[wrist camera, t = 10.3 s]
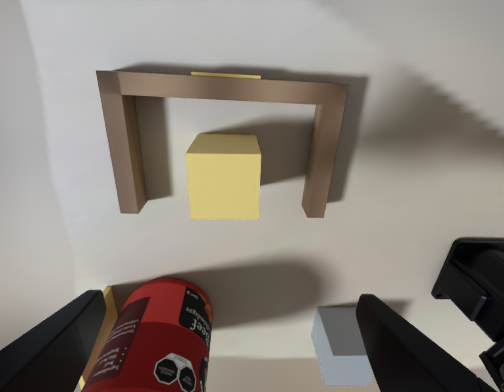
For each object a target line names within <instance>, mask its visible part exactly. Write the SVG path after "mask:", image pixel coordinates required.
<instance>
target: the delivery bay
mask: <svg viewBox="0 0 504 392" xmlns="http://www.w3.org/2000/svg"><path fill="white" fill-rule="evenodd" d="M96 74H97V80H98V86H99V92H100V97H101V103H102V109H103V115H104V120H105V126H106V132H107V137H108V143H109V149H110V155H111V160H112V166H113V172H114V177H115V183H116V189H117V195H118V200H119V206H120V212H121V213H131V214H139V212H140V211H141V209H142V208H143V206H144V205H145V204H146V202H147V195H146V187H145V179H144V171H143V163H142V155H141V147H140V139H139V131H138V123H137V115H136V107H135V99H134V95H137V96H157V97H177V98H197V99H216V100H236V101H256V102H276V103H296V104H316V109H315V116H314V123H313V130H312V137H311V144H310V151H309V158H308V165H307V171H306V178H305V185H304V192H303V199H302V207H303V209H304V211H305V213H306V215H307V218H324V214H325V208H326V203H327V198H328V192H329V187H330V182H331V176H332V171H333V166H334V160H335V155H336V150H337V144H338V139H339V134H340V128H341V123H342V118H343V113H344V107H345V102H346V97H347V91H348V86H349V85H348V84H339V83H323V82H305V81H287V80H269V79H261V76H257V75H239V74H222V73H204V72H191V75H179V74H161V73H143V72H125V71H96Z"/></svg>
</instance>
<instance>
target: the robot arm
mask: <svg viewBox="0 0 504 392" xmlns="http://www.w3.org/2000/svg"><path fill="white" fill-rule="evenodd" d="M431 294H432V296H433V297H434V298H435V299H451V301H452V302H453V303H454V304H455V305H456V306H457V307H458V308H459V309H460V310H461V311H462V312H463V313H464V314H465V316H466V317H467V318H468V319H469V320H470V321H474V322H475V323H476V324H477V325H478V326H479V327H480V328H481V329H482V330H483V331H484V332H485V334H486V335H487V336H488V337H489V338H490V339H491V340H492V341H493V342H496V343H495V344H494V345H493V346H492V347H490V348H489V349H488V350H487V351H483V352H482V353H481V354H480V355H479V357H480V359H481V360H482V362H483V364H484V365H485V367H486V369H487V371H488V372H489V374H490V375H491V377H492V378H493V380H494V382H495V384H496V385H497V387H498V388H499V390H500V392H504V241H501V240H457V241H455V242H454V243H453V244H452V246H451V249H450V251H449V253H448V256H447V258H446V260H445V262H444V265H443V267H442V269H441V271H440V274H439V276H438V278H437V281H436V283H435V285H434V287H433V290H432V292H431ZM105 315H106V303H105V299H104V294H103V292H102V291H101V290H88V291H86V292H84V293H83V294H82V295H80V296H79V297H77V298H76V299H74V300H73V301H71V302H70V303H68V304H67V305H66V306H64V307H63V308H61V309H60V310H58V311H57V312H55V313H54V314H53V315H51V316H50V317H48V318H47V319H45V320H44V321H42V322H41V323H40V324H38V325H37V326H35V327H34V328H32V329H31V330H29V331H28V332H27V333H25V334H23V335H22V336H21V337H19V338H18V339H16V340H15V341H13V342H12V343H10V344H9V345H8V346H6V347H5V348H3V349H2V350H0V392H74V390H75V388H76V386H77V384H78V382H79V380H80V378H81V376H82V374H83V372H84V370H85V367H86V365H87V363H88V361H89V358H90V356H91V353H92V350H93V348H94V345H95V342H96V339H97V337H98V334H99V331H100V329H101V326H102V323H103V320H104V318H105ZM356 319H357V322H358V326H359V329H360V333H361V336H362V340H363V343H364V347H365V350H366V354H367V357H368V360H369V363H370V366H371V368H372V371H373V373H374V376H375V379H376V381H377V384H378V386H379V389H380V391H381V392H497V391H496V390H494V389H493V388H492V387H491V386H489V385H488V384H487V383H486V382H484V381H483V380H482V379H480V378H479V377H477V376H476V375H475V374H474V373H473V372H471V371H470V370H469V369H468V368H466V367H465V366H464V365H463V364H461V363H460V362H459V361H457V360H456V359H455V358H454V357H452V356H451V355H450V354H449V353H447V352H446V351H445V350H443V349H442V348H441V347H440V346H438V345H437V344H436V343H435V342H433V341H432V340H431V339H429V338H428V337H427V336H426V335H424V334H423V333H422V332H421V331H419V330H418V329H417V328H415V327H414V326H413V325H412V324H410V323H409V322H408V321H407V320H405V319H404V318H403V317H401V316H400V315H399V314H398V313H396V312H395V311H394V310H393V309H391V308H390V307H389V306H387V305H386V304H385V303H384V302H382V301H381V300H380V299H379V298H377V297H376V296H375V295H373V294H362V295H361V296H360V298H359V301H358V304H357V308H356Z"/></svg>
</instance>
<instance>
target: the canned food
mask: <svg viewBox="0 0 504 392" xmlns="http://www.w3.org/2000/svg"><path fill="white" fill-rule="evenodd" d="M212 321H213V313H212V308H211V304H210V301H209V299H208V297H207V296H206V295H205V293H204V292H203V291H202V290H200V289H199V288H198V287H196V286H195V285H193V284H191V283H188V282H186V281H182V280H179V279H171V278H162V279H156V280H152V281H149V282H146V283H144V284H142V285H141V286H139V287H138V288H137V289H136V290H135V291H134V292H133V293H132V294H131V295H130V296H129V297H128V299H127V300H126V302H125V304H124V306H123V308H122V310H121V312H120V314H119V316H118V318H117V320H116V322H115V324H114V326H113V328H112V330H111V332H110V334H109V336H108V338H107V340H106V342H105V344H104V346H103V348H102V350H101V352H100V354H99V356H98V358H97V360H96V362H95V364H94V366H93V368H92V370H91V372H90V374H89V376H88V378H87V380H86V382H85V384H84V386H83V388H82V390H81V392H205V391H206V381H207V371H208V361H209V351H210V341H211V331H212Z"/></svg>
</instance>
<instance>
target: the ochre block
mask: <svg viewBox="0 0 504 392" xmlns="http://www.w3.org/2000/svg"><path fill="white" fill-rule="evenodd" d="M186 166H187V179H188V191H189V204H190V216H191V220H258V219H259V195H260V172H261V152H260V148H259V144H258V141H257V137H256V135H241V134H198V135H197V137H196V138H195V140H194V141H193V143H192V144H191V146H190V147H189V149H188V150H187V152H186Z"/></svg>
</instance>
